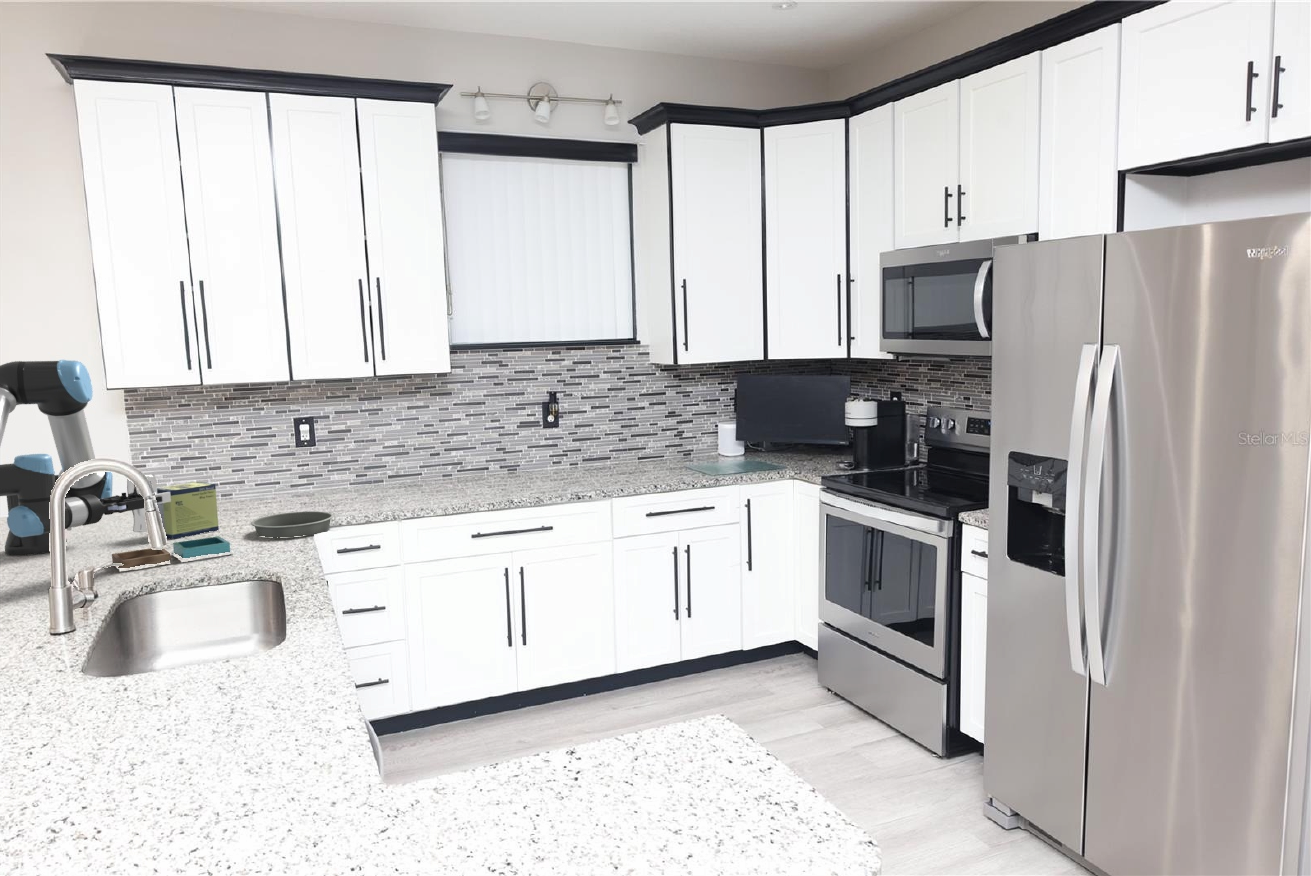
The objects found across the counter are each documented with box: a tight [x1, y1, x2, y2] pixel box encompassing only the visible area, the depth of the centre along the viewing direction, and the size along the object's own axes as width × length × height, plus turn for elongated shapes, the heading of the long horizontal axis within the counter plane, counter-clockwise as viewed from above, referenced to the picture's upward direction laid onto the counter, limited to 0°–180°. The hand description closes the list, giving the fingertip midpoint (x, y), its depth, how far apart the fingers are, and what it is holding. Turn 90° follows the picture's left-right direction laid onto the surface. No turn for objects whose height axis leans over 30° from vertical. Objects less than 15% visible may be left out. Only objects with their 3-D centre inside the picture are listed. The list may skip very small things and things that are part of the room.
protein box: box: [157, 481, 220, 540], centre depth 273 cm, size 10×16×16 cm
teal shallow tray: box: [172, 535, 231, 558], centre depth 242 cm, size 13×13×4 cm
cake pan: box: [250, 510, 334, 539], centre depth 273 cm, size 25×25×4 cm
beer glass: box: [126, 473, 158, 533], centre depth 232 cm, size 7×7×15 cm
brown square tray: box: [111, 547, 172, 568], centre depth 233 cm, size 12×12×3 cm
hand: (159, 496), depth 237 cm, fingers closed on beer glass, 7 cm apart
